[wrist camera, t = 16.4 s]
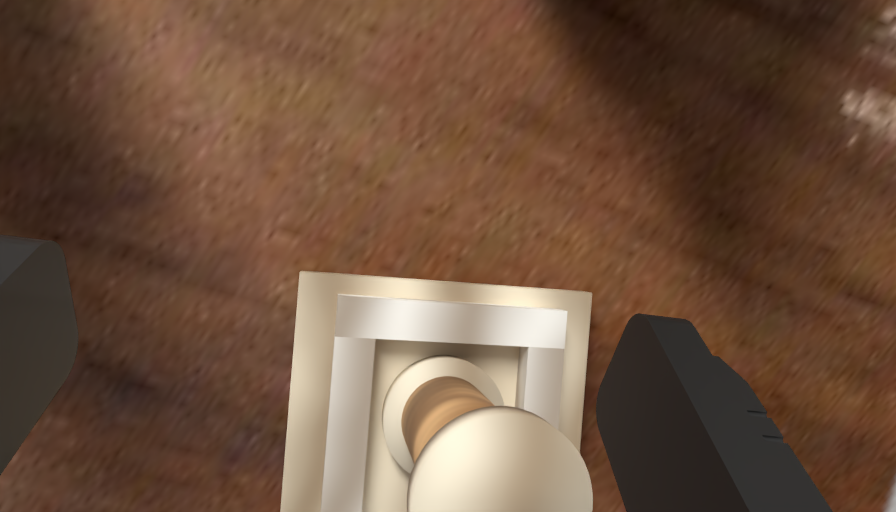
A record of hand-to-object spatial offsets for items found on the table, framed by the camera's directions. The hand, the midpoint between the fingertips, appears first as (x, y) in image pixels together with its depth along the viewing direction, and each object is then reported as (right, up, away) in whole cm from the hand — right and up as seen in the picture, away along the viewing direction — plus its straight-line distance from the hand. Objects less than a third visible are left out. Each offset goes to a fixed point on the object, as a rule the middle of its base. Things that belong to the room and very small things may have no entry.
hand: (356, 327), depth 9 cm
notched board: (+1, -7, +25) cm, 26 cm away
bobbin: (+1, -7, +23) cm, 25 cm away
